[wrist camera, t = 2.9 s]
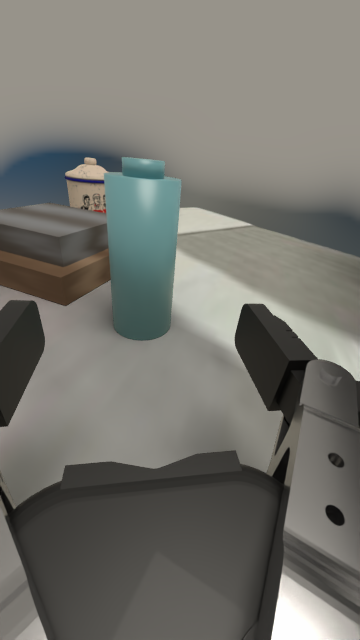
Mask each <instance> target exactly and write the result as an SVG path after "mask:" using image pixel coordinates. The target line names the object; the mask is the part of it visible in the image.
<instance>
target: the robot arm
mask: <svg viewBox="0 0 360 640" xmlns="http://www.w3.org/2000/svg"><path fill="white" fill-rule="evenodd" d="M44 346H45V337H44V332H43V328H42V324H41V319H40V315H39V311H38V307H37V304H36V302H35V301H20V300H11V301H9V302H8V303H7V304H6V305H5V306H4V307H3V308H2V310H1V311H0V427H5V426H8V425H9V422H10V420H11V418H12V416H13V414H14V412H15V410H16V408H17V406H18V404H19V401H20V399H21V397H22V395H23V393H24V391H25V389H26V387H27V385H28V383H29V380H30V378H31V376H32V374H33V372H34V370H35V368H36V366H37V364H38V362H39V359H40V357H41V355H42V353H43V351H44ZM235 346H236V349H237V351H238V353H239V355H240V357H241V359H242V361H243V363H244V365H245V367H246V369H247V370H248V372H249V374H250V376H251V378H252V380H253V382H254V384H255V386H256V388H257V390H258V392H259V394H260V396H261V398H262V400H263V402H264V404H265V406H266V408H267V410H268V411H277V410H281V411H282V413H283V417H282V419H281V421H280V425H279V429H278V433H277V437H276V441H275V445H274V449H273V453H272V457H271V461H270V464H269V467H268V470H267V473H264V472H262V471H260V470H258V469H256V468H253V467H250V466H247V465H243V464H240V463H239V460H238V457H237V454H236V451H224V452H213V453H202V454H195V455H193V456H190V457H187V458H185V459H182V460H180V461H177V462H174V463H172V464H169V465H166V466H164V467H161V468H158V469H150V468H145V467H139V466H133V465H128V464H122V463H116V462H100V463H89V464H77V465H66V466H65V469H64V473H63V478H62V481H60V482H57V483H55V484H53V485H51V486H48V487H46V488H44V489H42V490H41V491H39V492H37V493H36V494H34V495H32V496H31V497H29V498H28V499H27V500H25V501H24V502H23V503H21V504H20V505H19V506H17V507H16V505H15V503H14V501H13V499H12V497H11V495H10V493H9V490H8V488H7V486H6V483H5V481H4V478H3V476H2V473H1V471H0V640H360V381H355V379H354V378H353V376H352V375H351V374H350V373H349V372H348V371H347V370H345V369H344V368H343V367H341V366H339V365H337V364H335V363H333V362H330V361H326V360H318V359H317V357H316V356H315V355H314V354H313V353H312V352H311V351H310V350H309V348H308V347H307V346H306V345H305V344H304V343H303V342H302V341H301V339H300V338H298V336H297V335H296V334H295V333H294V332H292V329H291V328H290V327H289V326H288V325H287V324H286V322H284V321H283V320H281V319H279V318H278V317H276V316H273V315H272V313H271V312H270V311H269V310H268V309H267V307H266V306H265V305H264V304H244V305H243V307H242V310H241V314H240V318H239V321H238V325H237V329H236V333H235Z"/></svg>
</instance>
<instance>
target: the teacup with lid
mask: <svg viewBox="0 0 360 640" xmlns="http://www.w3.org/2000/svg"><path fill="white" fill-rule="evenodd" d="M84 162H85V164H84V165H79V166H78V167H77V168H75V169H74V170H71V171H68V172H66V174H65V175H66V176H65V179H67V185H68V193H69V200H70V207H75V208H80V209H86V210H91V211H97V212H102V213H106V200H105V185H104V173H109V172H107V171H106V170H105V169H103V168H102V167H100V166H97V165H96V160H95V159H94V158H85V159H84Z"/></svg>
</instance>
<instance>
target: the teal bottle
mask: <svg viewBox="0 0 360 640" xmlns="http://www.w3.org/2000/svg"><path fill="white" fill-rule="evenodd" d="M164 170H165V162H164V161H158V160H149V159H138V158H127V157H123V158H122V173H119V172H109V173H104V185H105V200H106V216H107V231H108V246H109V261H110V276H111V292H112V307H113V322H114V328H115V330H116V331H117V332H118V333H119V334H120V335H122V336H124V337H126V338H129V339H133V340H151V339H155V338H158V337H160V336H162V335H164V334H165V333H166V332H167V331H168V330H169V328H170V321H171V308H172V296H173V283H174V270H175V258H176V245H177V232H178V220H179V206H180V194H181V180H180V179H176V178H171V177H165V176H164Z"/></svg>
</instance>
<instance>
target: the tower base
mask: <svg viewBox="0 0 360 640" xmlns="http://www.w3.org/2000/svg"><path fill="white" fill-rule="evenodd" d="M110 279H111V276H110V261H109V246H108V231H107V216H106V213H102V212H97V211H91V210H86V209H80V208H75V207H70V206H64V205H59V204H53V203H45V204H38V205H31V206H24V207H17V208H9V209H2V210H0V285H2V286H5V287H9V288H12V289H15V290H18V291H21V292H24V293H27V294H31V295H34V296H37V297H40V298H43V299H46V300H49V301H53V302H56V303H59V304H62V305H65V306H66V305H68V304H70V303H71V302H73V301H75V300H76V299H78V298H80V297H82V296H83V295H85V294H87V293H88V292H90V291H92V290H93V289H95V288H97V287H98V286H100V285H102V284H104V283H105V282H107V281H109V280H110Z"/></svg>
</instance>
